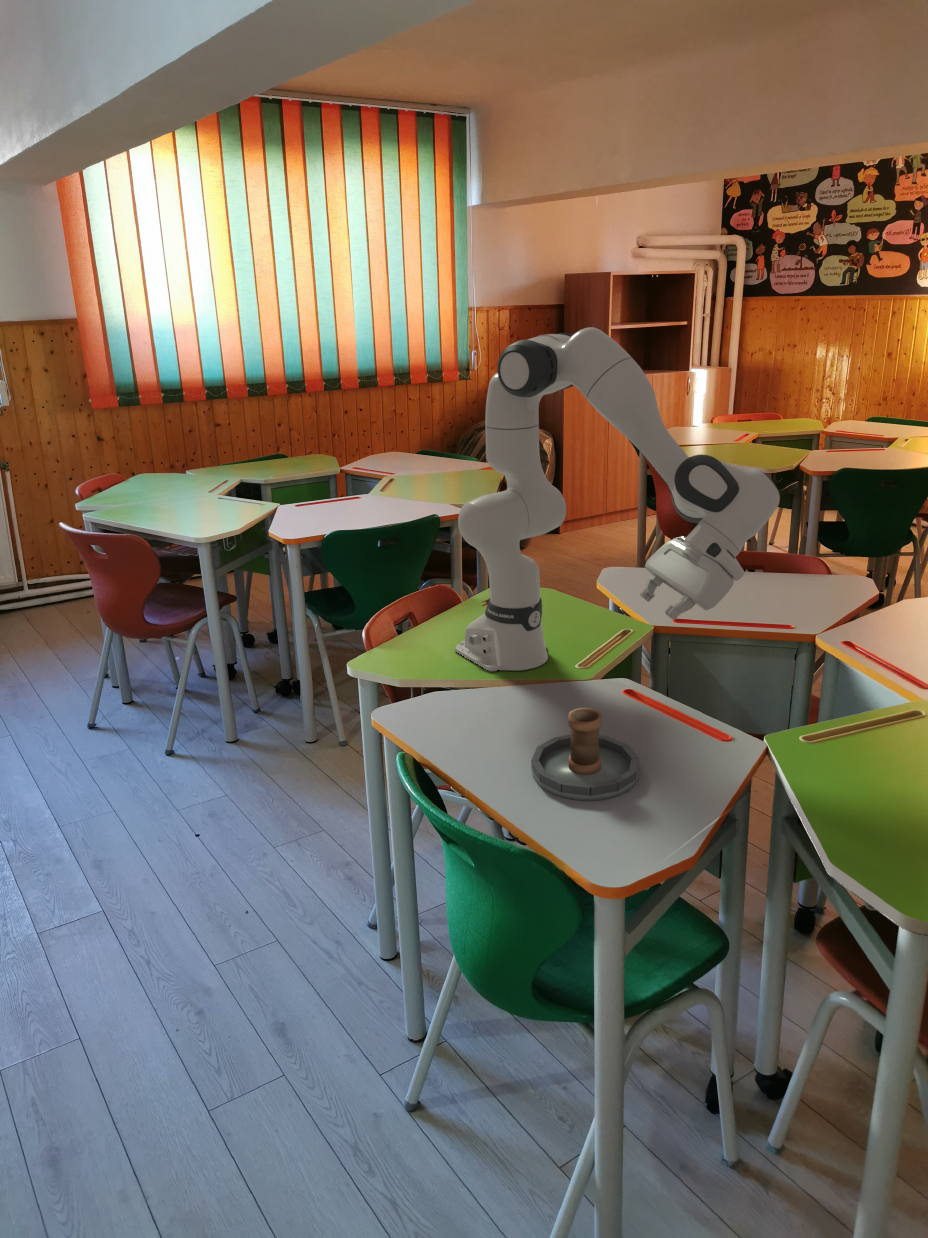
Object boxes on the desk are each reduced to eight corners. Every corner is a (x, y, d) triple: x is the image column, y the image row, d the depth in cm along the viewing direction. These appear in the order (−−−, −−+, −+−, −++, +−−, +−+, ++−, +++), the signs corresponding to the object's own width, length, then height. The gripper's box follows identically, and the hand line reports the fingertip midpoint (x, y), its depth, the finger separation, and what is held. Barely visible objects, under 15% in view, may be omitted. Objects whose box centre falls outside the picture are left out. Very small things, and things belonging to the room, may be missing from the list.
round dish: (510, 773, 155) (510, 760, 154) (578, 735, 167) (578, 723, 166) (592, 813, 143) (593, 800, 142) (659, 770, 154) (660, 757, 153)
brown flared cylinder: (561, 767, 155) (561, 715, 151) (582, 755, 158) (582, 704, 155) (586, 778, 151) (587, 726, 147) (607, 766, 154) (608, 714, 151)
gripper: (669, 523, 166) (619, 578, 168) (729, 555, 148) (673, 617, 150) (688, 543, 169) (640, 597, 171) (750, 577, 151) (695, 638, 152)
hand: (656, 607), depth 160 cm, fingers open, 8 cm apart
